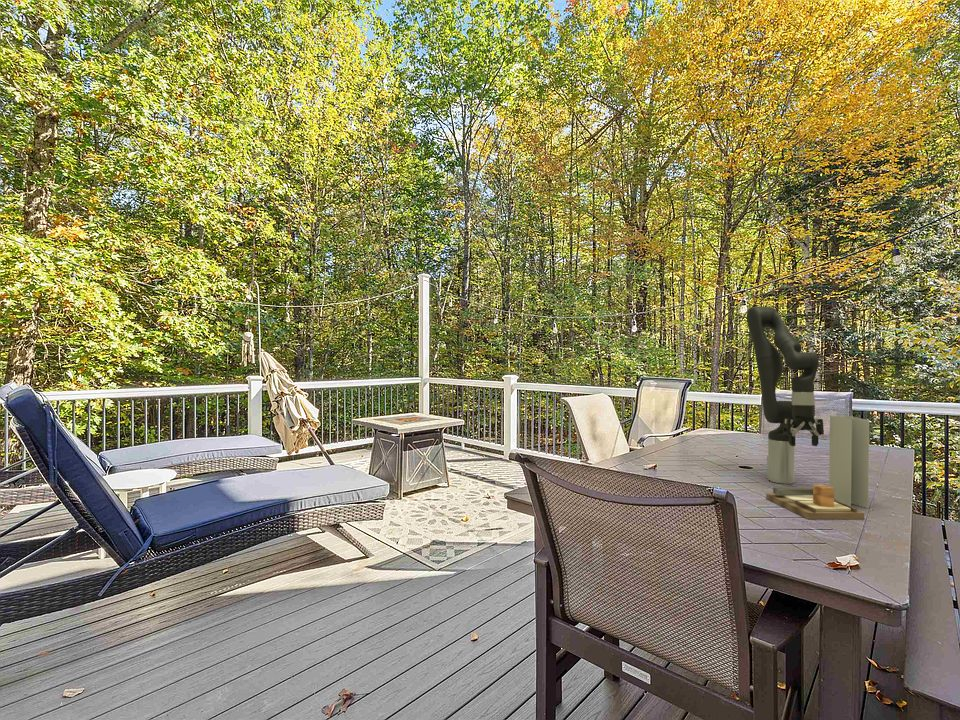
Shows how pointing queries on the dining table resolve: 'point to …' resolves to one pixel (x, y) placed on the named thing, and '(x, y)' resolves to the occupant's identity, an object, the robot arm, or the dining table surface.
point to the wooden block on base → (824, 499)
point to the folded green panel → (849, 460)
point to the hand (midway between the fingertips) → (803, 445)
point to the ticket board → (793, 495)
